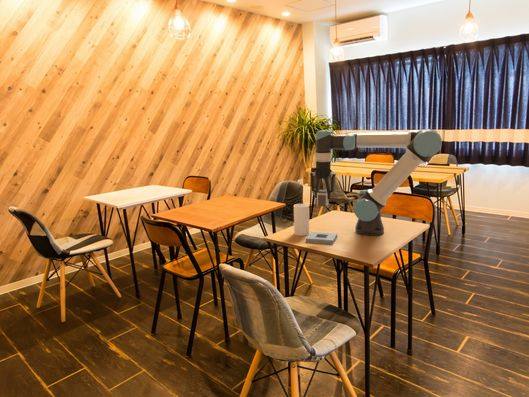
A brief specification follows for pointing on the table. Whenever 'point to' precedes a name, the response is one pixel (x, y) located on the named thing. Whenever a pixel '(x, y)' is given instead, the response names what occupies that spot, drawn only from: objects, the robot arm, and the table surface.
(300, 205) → the cup
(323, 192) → the charger
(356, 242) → the table surface
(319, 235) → the outlet plate
